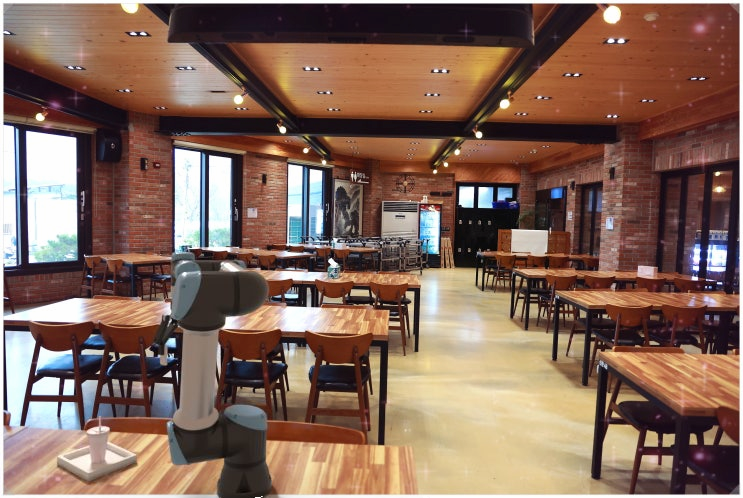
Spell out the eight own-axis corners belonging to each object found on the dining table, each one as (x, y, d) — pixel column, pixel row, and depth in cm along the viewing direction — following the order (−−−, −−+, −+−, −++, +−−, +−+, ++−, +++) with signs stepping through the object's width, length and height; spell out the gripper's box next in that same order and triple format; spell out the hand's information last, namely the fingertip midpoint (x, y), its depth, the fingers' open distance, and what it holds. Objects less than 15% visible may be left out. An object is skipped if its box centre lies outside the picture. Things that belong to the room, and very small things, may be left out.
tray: (136, 462, 160) (136, 454, 160) (88, 481, 148) (88, 473, 147) (105, 447, 170) (105, 440, 170) (57, 463, 157) (57, 456, 157)
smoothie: (99, 466, 155) (100, 421, 154) (81, 464, 156) (81, 418, 156) (114, 457, 161) (114, 413, 161) (96, 455, 162) (96, 411, 162)
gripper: (205, 293, 185) (204, 351, 186) (141, 300, 164) (140, 366, 165) (219, 295, 181) (218, 355, 182) (155, 303, 160) (154, 370, 161)
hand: (181, 360), depth 173 cm, fingers open, 13 cm apart
